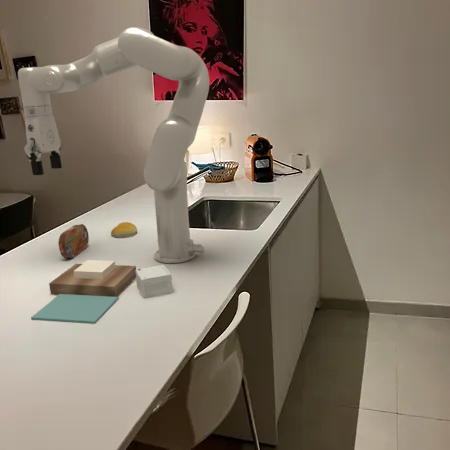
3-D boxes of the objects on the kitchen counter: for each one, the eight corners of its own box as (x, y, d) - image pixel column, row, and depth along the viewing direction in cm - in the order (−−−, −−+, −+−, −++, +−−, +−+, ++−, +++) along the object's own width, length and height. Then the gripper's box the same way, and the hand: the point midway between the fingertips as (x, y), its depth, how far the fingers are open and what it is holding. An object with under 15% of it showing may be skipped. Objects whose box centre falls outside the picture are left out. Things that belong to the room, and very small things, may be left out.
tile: (115, 267, 140) (114, 261, 139) (102, 279, 132) (101, 272, 132) (88, 266, 142) (87, 260, 141) (74, 278, 134) (73, 271, 134)
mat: (118, 298, 128) (118, 296, 128) (95, 323, 116) (94, 321, 115) (60, 295, 131) (60, 293, 131) (31, 319, 119) (31, 317, 119)
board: (136, 276, 141) (135, 265, 141) (115, 297, 128) (114, 286, 127) (77, 273, 145) (75, 263, 144) (50, 294, 132) (49, 283, 131)
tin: (68, 262, 155) (64, 235, 152) (59, 261, 156) (55, 235, 153) (90, 245, 169) (87, 220, 167) (82, 245, 170) (78, 220, 167)
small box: (173, 292, 130) (172, 274, 128) (142, 299, 127) (141, 279, 126) (165, 281, 137) (164, 264, 136) (136, 287, 134) (134, 269, 133)
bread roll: (108, 238, 176) (106, 227, 175) (119, 230, 184) (118, 219, 183) (130, 239, 174) (129, 228, 173) (140, 231, 182) (139, 220, 181)
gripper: (32, 114, 138) (42, 177, 143) (65, 109, 154) (74, 165, 159) (7, 115, 140) (19, 177, 145) (43, 110, 156) (52, 166, 161)
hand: (47, 171), depth 152 cm, fingers open, 9 cm apart
